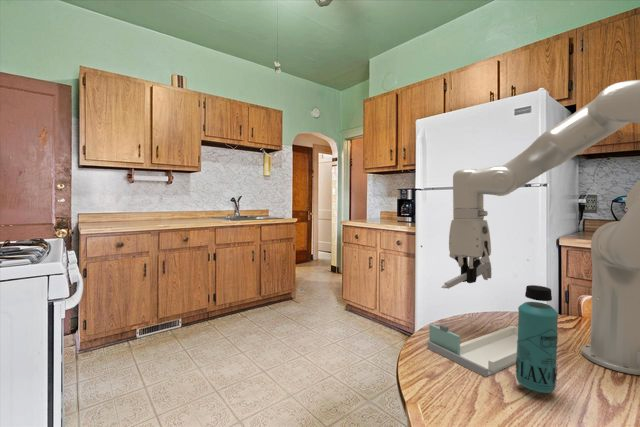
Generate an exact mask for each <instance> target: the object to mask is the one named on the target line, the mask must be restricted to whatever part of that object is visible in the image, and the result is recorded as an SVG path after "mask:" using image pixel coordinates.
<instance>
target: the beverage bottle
mask: <svg viewBox="0 0 640 427" xmlns="http://www.w3.org/2000/svg"><path fill="white" fill-rule="evenodd" d="M524 295H525V298H527V299H530V300H534V301H526V302H524V303H522V304H520V305H519V306H518V307H517V309H518V318H517V319H518V322H517V324H518V325H517V327H518V340H517V350H516V351H517V356H516V364H515V377H516V381H517V382H518V384H520V385H521V386H523V387H524V388H526V389H529V390H531V391H534V392H537V393H543V394H544V393H553V392H554V391H555V389H556V387H557V382H558V378H557V376H558V366H557V359H558V358H557V353H558V341H559V339H558V335H559V333H558V323H559V322H558V321H559V320H558V317H559V313H558V312H557V310H556V309H555V308H554V307H552V305H550V304H547V303H544V302H550V301H552V300H553V295H552V289H551V288H549V287H546V286H542V285H533V284H531V285H530V284H529V285H527V286H526V287H525V294H524ZM538 301H539V302H538ZM540 301H541V302H540Z"/></svg>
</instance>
